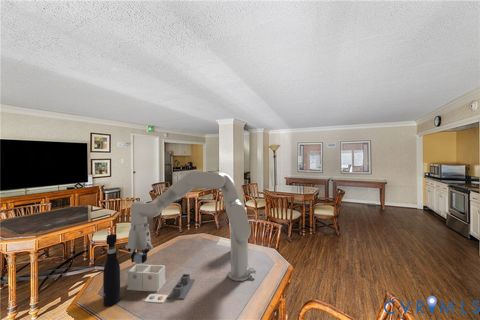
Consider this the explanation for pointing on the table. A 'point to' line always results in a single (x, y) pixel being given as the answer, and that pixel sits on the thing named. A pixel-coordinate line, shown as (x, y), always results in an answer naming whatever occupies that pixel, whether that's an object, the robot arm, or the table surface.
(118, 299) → the wine bottle
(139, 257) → the slate ball
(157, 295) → the card
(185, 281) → the ball stand
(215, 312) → the table surface
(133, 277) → the two-slot cubby shelf
